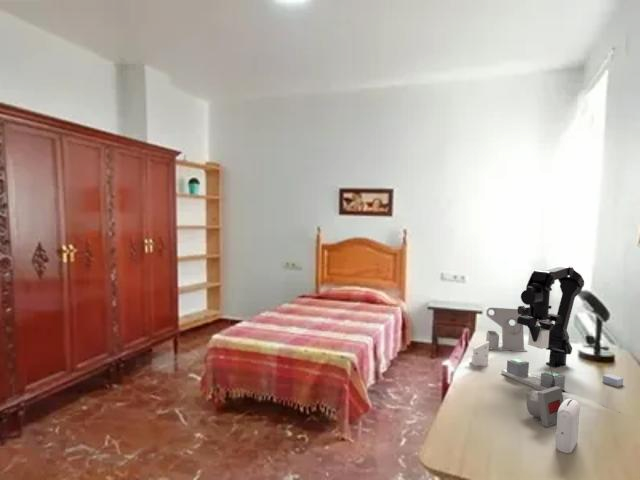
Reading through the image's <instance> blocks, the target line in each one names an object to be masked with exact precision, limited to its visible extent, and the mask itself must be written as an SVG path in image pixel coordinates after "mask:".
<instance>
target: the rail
mask: <svg viewBox="0 0 640 480" xmlns="http://www.w3.org/2000/svg"><path fill="white" fill-rule="evenodd" d="M529 368H530V362H529V361H526V360H524V359H520V358H511V359H507V362H506V368H505V369H501V374H502V375H504V376H507V377H508V378H511V379H513V380H515V381H517V382H520V383H522V384H524V385H525V384H526V385H527V386H530V387H531V388H534V389H537V390H538V391H542V390H546V389H549V388H551V385H552V383H553V382H554V381H555V384H554V385H555V386H557V387H560V388H561V389H562V393H565V392H566V390H564V389H566V387H565V380H566V379H565V378H566V375H565V374H562V373H559V372H556V371H553V370H550V371H545V372H541V373H540V377H539V376H536V375H534V374H531V373H529ZM551 371H552V373H553V377H554V381H553V382H552V380H553V377H552V373H551ZM553 387H554V386H553Z"/></svg>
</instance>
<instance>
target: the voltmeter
mask: <svg viewBox="0 0 640 480" xmlns="http://www.w3.org/2000/svg"><path fill="white" fill-rule="evenodd" d="M550 371H551V373H552V371H553V370H550ZM552 377H553V373H552ZM553 381H554V377H553V380H552V382H553ZM554 384H555V381H554V382H553V383H552V385H551V388H549V389H546V390H542V391H541V390H534V389H533V390H531V391H529V392H528V393H526V394H525V395H526V408H527V410H528V413H529V414H530V415H531V416H532V417H536V418H540V419H541V420H538V422H539V423H541V426H542V427H549V426H552V425H555V424H557V414H558V409H559V407H560V405H561V404H562V402H563V401H564V396H563V392H562V390H563V389H561V388H560V387H557V386H555V385H554ZM553 386H554V387H553Z"/></svg>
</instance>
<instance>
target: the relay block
mask: <svg viewBox="0 0 640 480" xmlns="http://www.w3.org/2000/svg"><path fill="white" fill-rule="evenodd" d="M602 383H604V384H607V385H611V386H612V387H616V388H617V387H621V386H623V385H624V377H621V376H617V375H614V374H611V373H607V374H603V376H602Z"/></svg>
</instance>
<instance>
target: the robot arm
mask: <svg viewBox="0 0 640 480" xmlns="http://www.w3.org/2000/svg"><path fill="white" fill-rule="evenodd" d="M557 280H558V282H559V283H560V284H559V288H560V291H561V293H562V294H561V298H560V302H559V305H558V310H557V313H556V314H554V313H549V312H550V310H551V309H552V305H550V298H551V297H550V295H551V294H550V293H551V291H553V288H552V286H553V285H554V284H555V281H557ZM584 286H585V280H584V278H583V276H582V275H581V274H580V273H579V272H578V271H576V270H575V269H574V267H572V266H571V265H558V267H557V266H556V267H553V268H550V269H547V270H544V269H543V270H542V269H535V270H533V272H532V273H531V274H530V277H529V280H528V282H527V284H526V288H525V290H523V291H522V293H521V294H520V299H521V302H522V303H523V304H524V305H519V306H517V309H518V310H517V311H518V314H521V316H519V317H518V318H517V323H519V324H522V325H523V326H525V327H527V328H528V331H529V330H530V332H531V336H532V339H533V341H534V342H536V341H537V338H538V335H539V332H540V329H541V328H543V329H546V330H549V344H548V348H545V350H546V351H547V350H549V357H548V362H545V364H546V365H548V366H551V367H554V368H560V367H561V368H562V367H564V366H567V355H571V354H572V352H573V346H572V345H571V343H570V336H569V333H568V326H569V322H570V318H571V314H572V310H573V306H574V302H575V299H576V297H578V296H579V295H580V293H581V292H582V289H583V288H584ZM525 305H526V306H527V305H528V306H529V307H525ZM553 322H554V323H553Z"/></svg>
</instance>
